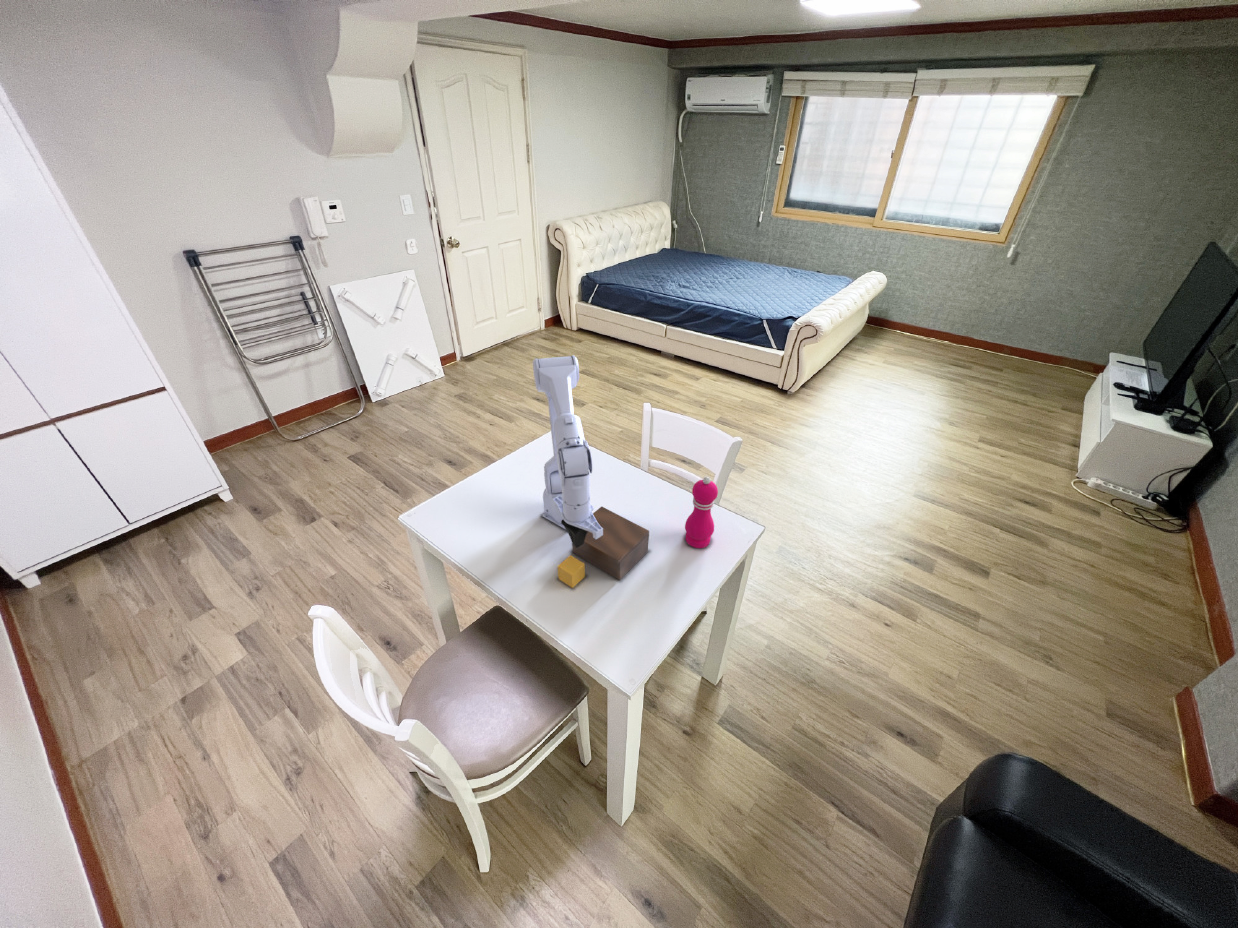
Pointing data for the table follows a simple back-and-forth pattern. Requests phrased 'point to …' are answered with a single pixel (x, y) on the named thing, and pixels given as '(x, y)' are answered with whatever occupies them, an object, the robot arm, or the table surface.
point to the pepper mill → (701, 514)
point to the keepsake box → (610, 565)
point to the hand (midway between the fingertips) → (578, 544)
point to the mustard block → (571, 571)
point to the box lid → (615, 535)
